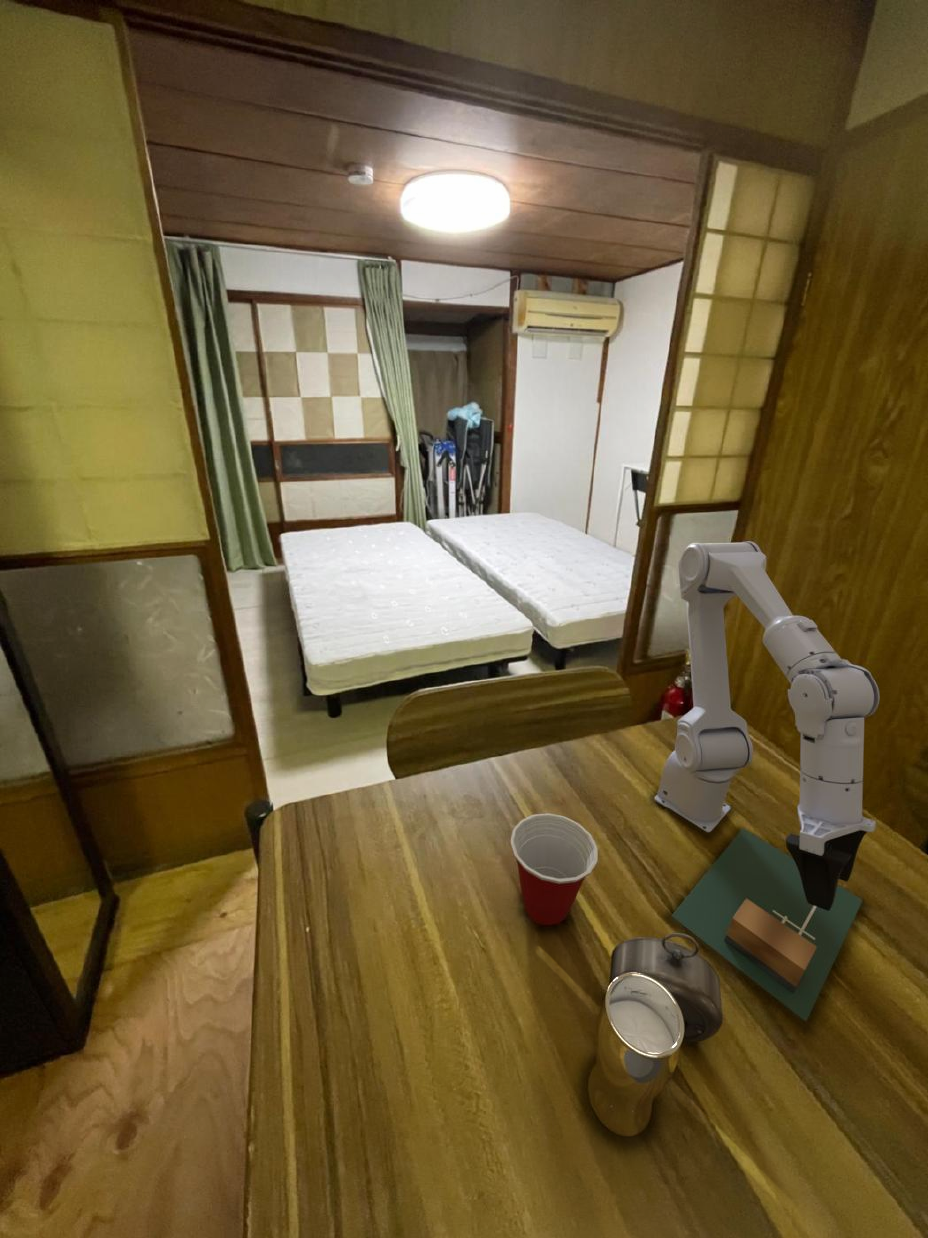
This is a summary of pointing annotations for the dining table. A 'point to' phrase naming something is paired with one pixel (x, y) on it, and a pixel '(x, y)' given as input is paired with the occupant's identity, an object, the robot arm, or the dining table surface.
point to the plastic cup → (551, 864)
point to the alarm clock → (676, 979)
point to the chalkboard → (779, 893)
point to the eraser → (770, 944)
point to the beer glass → (633, 1051)
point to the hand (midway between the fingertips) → (828, 891)
